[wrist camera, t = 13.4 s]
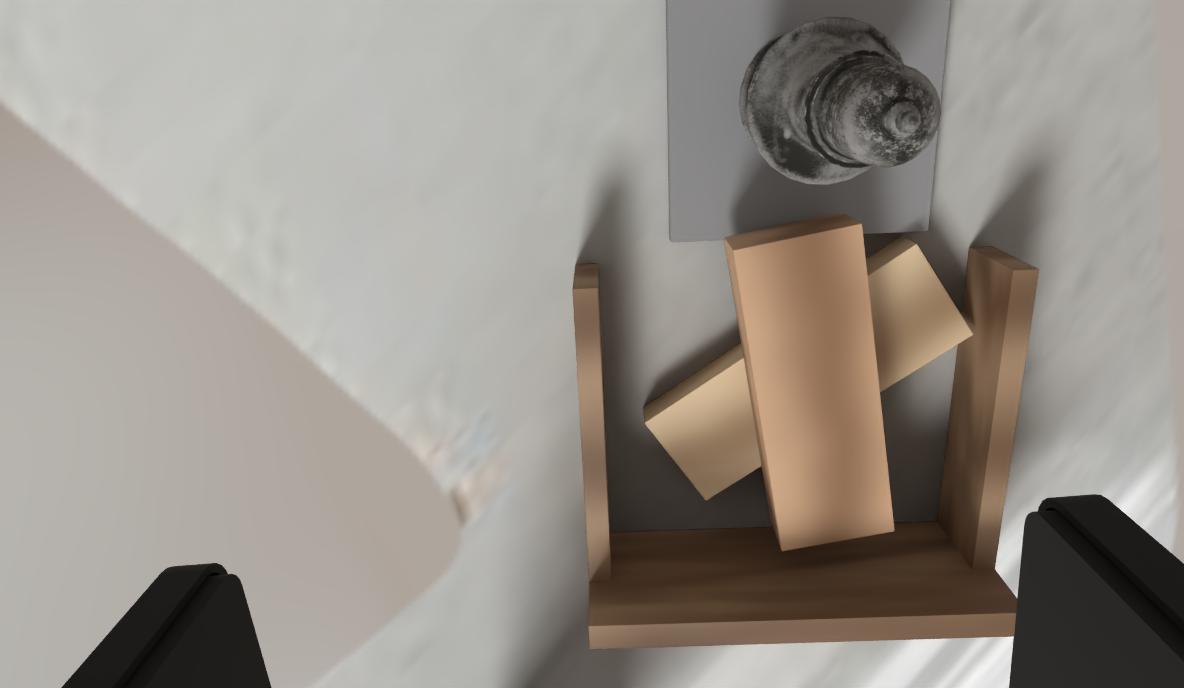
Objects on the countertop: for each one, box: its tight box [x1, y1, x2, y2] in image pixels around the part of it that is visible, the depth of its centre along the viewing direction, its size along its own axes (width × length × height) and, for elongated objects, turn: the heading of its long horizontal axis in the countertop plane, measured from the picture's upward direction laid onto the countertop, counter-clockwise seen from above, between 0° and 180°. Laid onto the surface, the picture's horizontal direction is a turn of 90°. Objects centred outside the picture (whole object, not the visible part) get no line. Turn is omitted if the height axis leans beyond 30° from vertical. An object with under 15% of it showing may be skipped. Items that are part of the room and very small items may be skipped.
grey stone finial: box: [739, 17, 941, 185], centre depth 27 cm, size 6×6×12 cm
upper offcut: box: [724, 212, 894, 551], centre depth 34 cm, size 5×14×2 cm, turn 12°
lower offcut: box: [643, 235, 973, 500], centre depth 37 cm, size 5×14×2 cm, turn 127°
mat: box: [666, 0, 951, 242], centre depth 33 cm, size 11×11×1 cm
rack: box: [573, 247, 1039, 649], centre depth 35 cm, size 16×18×7 cm
